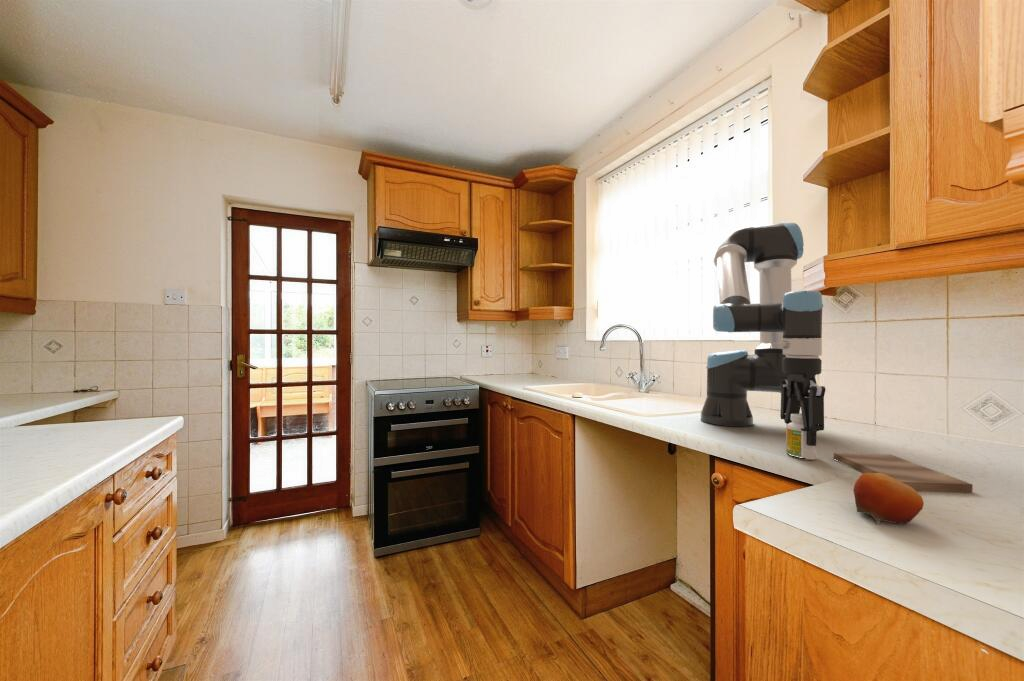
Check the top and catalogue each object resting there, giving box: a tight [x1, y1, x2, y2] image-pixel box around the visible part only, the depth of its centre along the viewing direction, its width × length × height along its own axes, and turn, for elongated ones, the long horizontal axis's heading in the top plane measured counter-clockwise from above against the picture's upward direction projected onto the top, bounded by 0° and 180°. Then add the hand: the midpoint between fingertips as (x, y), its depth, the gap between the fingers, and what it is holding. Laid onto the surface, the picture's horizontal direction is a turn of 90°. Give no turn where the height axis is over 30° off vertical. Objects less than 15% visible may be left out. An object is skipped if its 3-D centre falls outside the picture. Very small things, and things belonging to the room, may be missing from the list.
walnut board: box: [833, 452, 973, 493], centre depth 83 cm, size 18×12×2 cm, turn 174°
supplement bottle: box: [786, 413, 804, 457], centre depth 95 cm, size 5×5×10 cm
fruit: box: [853, 473, 925, 526], centre depth 63 cm, size 8×8×8 cm
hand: (800, 454), depth 95 cm, fingers closed on supplement bottle, 5 cm apart
